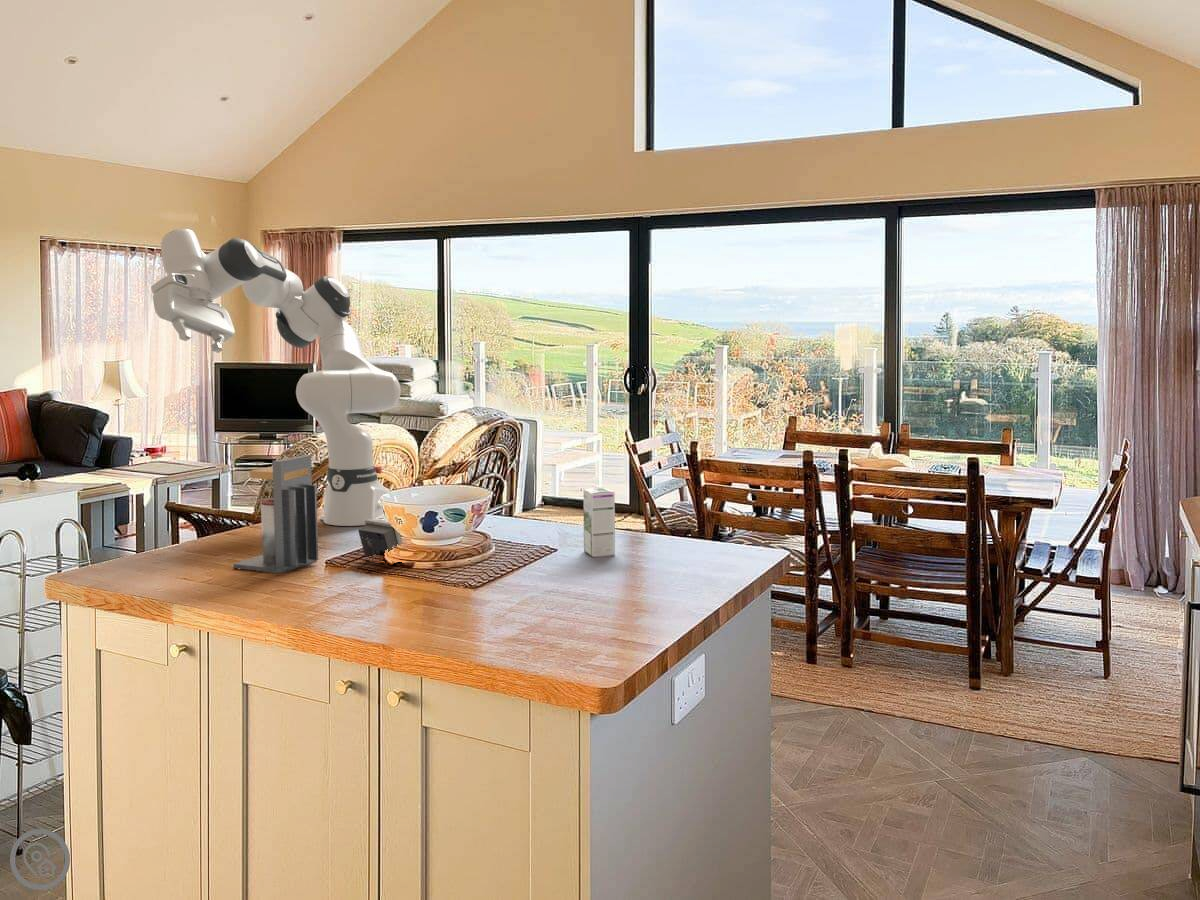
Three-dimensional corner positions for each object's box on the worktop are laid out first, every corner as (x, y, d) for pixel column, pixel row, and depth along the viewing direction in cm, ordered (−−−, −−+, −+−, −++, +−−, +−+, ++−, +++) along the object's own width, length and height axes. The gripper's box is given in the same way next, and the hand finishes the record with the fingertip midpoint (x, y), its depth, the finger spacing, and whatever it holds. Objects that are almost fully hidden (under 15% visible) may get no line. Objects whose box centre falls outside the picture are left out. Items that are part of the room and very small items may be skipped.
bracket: (270, 556, 222) (267, 452, 219) (324, 561, 217) (321, 455, 214) (233, 568, 211) (229, 459, 208) (289, 574, 206) (285, 462, 203)
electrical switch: (407, 563, 217) (403, 521, 215) (390, 570, 212) (386, 527, 210) (376, 557, 222) (372, 516, 220) (358, 564, 217) (354, 523, 215)
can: (273, 556, 217) (271, 496, 216) (293, 558, 216) (291, 498, 214) (257, 561, 213) (254, 500, 211) (277, 563, 211) (275, 502, 209)
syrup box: (615, 555, 224) (616, 491, 223) (590, 557, 222) (591, 492, 221) (607, 550, 230) (607, 487, 228) (582, 552, 228) (582, 488, 226)
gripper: (214, 313, 239) (225, 363, 234) (144, 284, 220) (155, 338, 216) (234, 300, 237) (246, 351, 232) (165, 271, 218) (176, 325, 214)
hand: (201, 345), depth 224 cm, fingers open, 8 cm apart
